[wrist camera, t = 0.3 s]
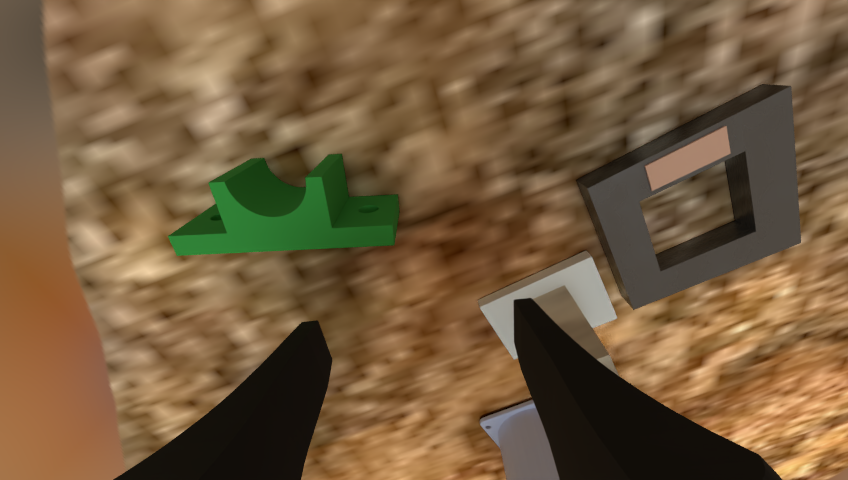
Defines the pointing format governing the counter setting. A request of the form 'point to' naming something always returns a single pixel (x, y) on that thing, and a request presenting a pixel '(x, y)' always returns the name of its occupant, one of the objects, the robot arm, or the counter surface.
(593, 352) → the birch peg
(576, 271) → the white rectangular plate
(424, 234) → the counter surface
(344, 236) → the pipe clamp
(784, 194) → the plate
